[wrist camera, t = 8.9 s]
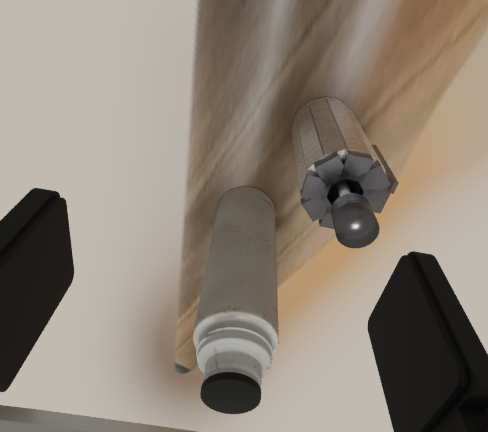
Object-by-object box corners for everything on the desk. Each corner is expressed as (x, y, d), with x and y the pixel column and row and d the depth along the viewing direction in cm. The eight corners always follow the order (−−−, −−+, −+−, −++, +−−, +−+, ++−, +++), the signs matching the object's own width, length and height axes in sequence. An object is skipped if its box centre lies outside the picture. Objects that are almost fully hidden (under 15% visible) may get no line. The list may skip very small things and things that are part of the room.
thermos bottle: (282, 225, 55) (294, 418, 32) (231, 240, 57) (206, 433, 34) (262, 178, 51) (260, 360, 28) (208, 196, 53) (163, 381, 30)
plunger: (313, 116, 43) (339, 200, 28) (353, 125, 43) (399, 212, 28) (301, 153, 45) (318, 248, 30) (339, 161, 46) (374, 260, 31)
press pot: (302, 90, 45) (317, 146, 32) (379, 109, 46) (426, 171, 32) (284, 149, 49) (291, 220, 36) (356, 165, 50) (389, 240, 36)
